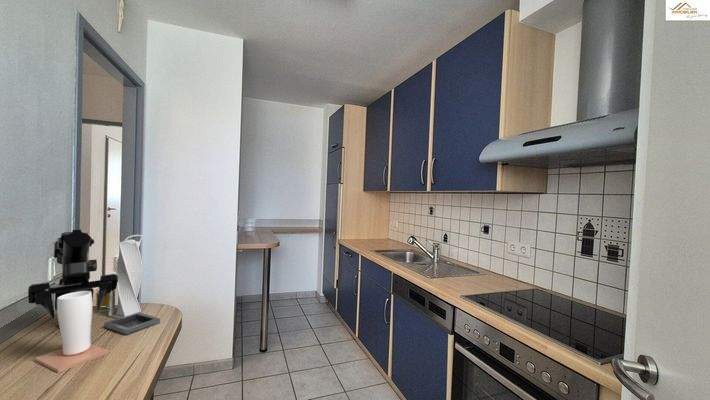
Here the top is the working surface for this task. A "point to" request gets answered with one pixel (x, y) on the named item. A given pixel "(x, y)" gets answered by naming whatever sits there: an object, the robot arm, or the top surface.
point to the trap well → (131, 323)
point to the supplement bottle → (103, 302)
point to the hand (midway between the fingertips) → (76, 313)
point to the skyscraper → (127, 279)
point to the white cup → (75, 321)
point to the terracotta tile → (69, 358)
